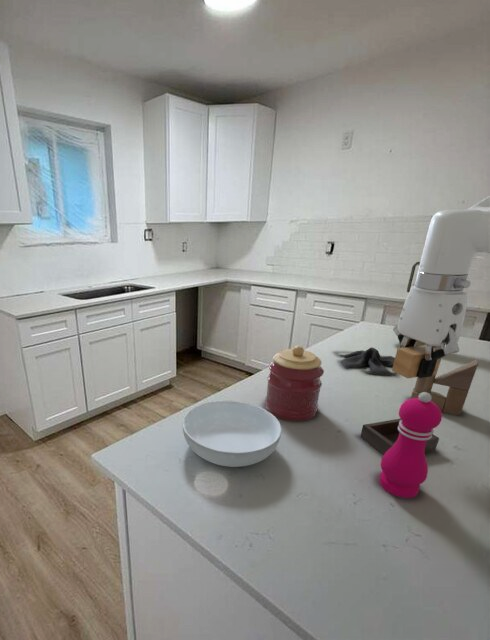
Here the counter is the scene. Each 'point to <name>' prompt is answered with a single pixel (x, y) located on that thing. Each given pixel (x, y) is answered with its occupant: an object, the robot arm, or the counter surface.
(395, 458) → the pepper mill
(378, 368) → the cloth
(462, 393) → the wooden block structure
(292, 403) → the kitchen canister
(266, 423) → the serving bowl
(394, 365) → the tan rectangular block
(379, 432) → the socket
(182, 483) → the counter surface
